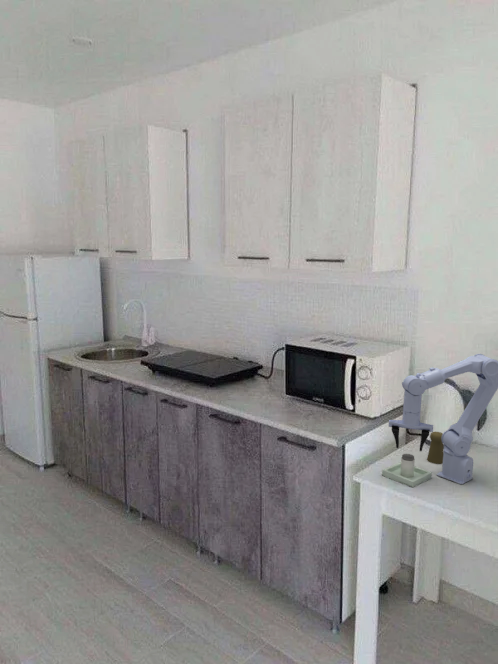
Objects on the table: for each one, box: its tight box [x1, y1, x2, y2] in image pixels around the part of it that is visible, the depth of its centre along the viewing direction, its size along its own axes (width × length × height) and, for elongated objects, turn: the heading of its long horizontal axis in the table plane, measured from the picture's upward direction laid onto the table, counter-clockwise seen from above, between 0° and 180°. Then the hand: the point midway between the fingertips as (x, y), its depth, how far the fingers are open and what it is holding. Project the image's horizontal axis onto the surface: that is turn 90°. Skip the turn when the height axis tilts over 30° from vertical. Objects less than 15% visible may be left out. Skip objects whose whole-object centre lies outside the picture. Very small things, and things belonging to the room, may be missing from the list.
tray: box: [381, 461, 433, 488], centre depth 181 cm, size 12×12×2 cm
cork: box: [426, 431, 444, 465], centre depth 195 cm, size 6×6×11 cm
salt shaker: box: [400, 453, 416, 478], centre depth 181 cm, size 4×4×7 cm
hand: (408, 448), depth 179 cm, fingers open, 7 cm apart
